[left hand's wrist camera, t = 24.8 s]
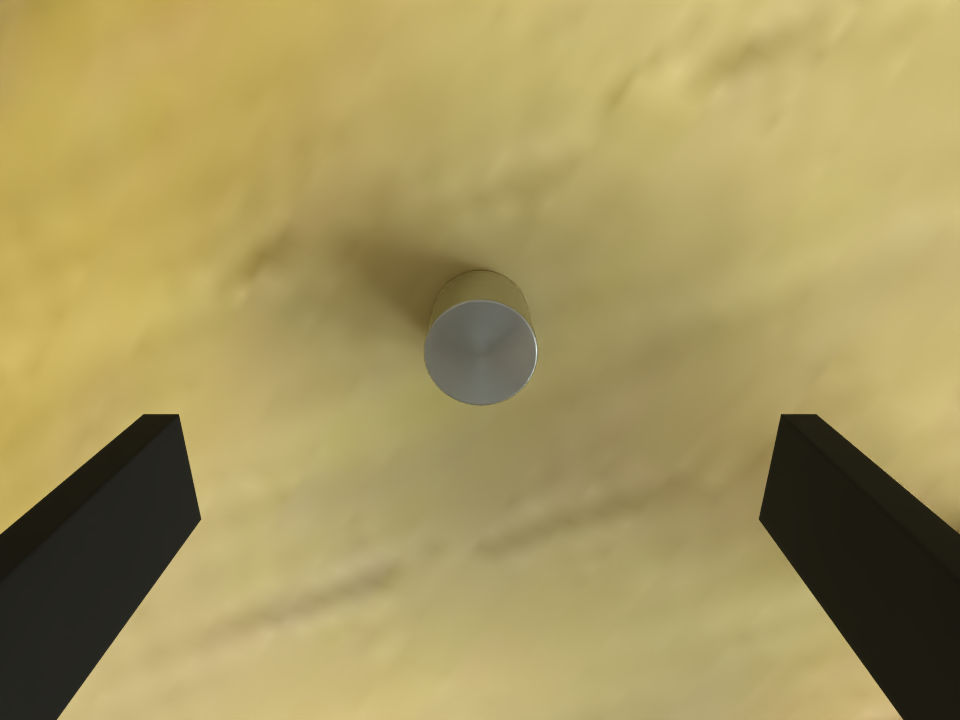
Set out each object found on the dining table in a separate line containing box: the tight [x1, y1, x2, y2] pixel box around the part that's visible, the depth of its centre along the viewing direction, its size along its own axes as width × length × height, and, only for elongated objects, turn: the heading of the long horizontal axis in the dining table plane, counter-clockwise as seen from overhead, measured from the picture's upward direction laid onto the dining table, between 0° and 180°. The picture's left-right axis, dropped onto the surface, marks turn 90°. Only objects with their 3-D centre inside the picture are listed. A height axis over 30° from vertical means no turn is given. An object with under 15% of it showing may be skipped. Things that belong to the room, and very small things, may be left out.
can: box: [424, 270, 538, 405], centre depth 21 cm, size 4×4×4 cm
